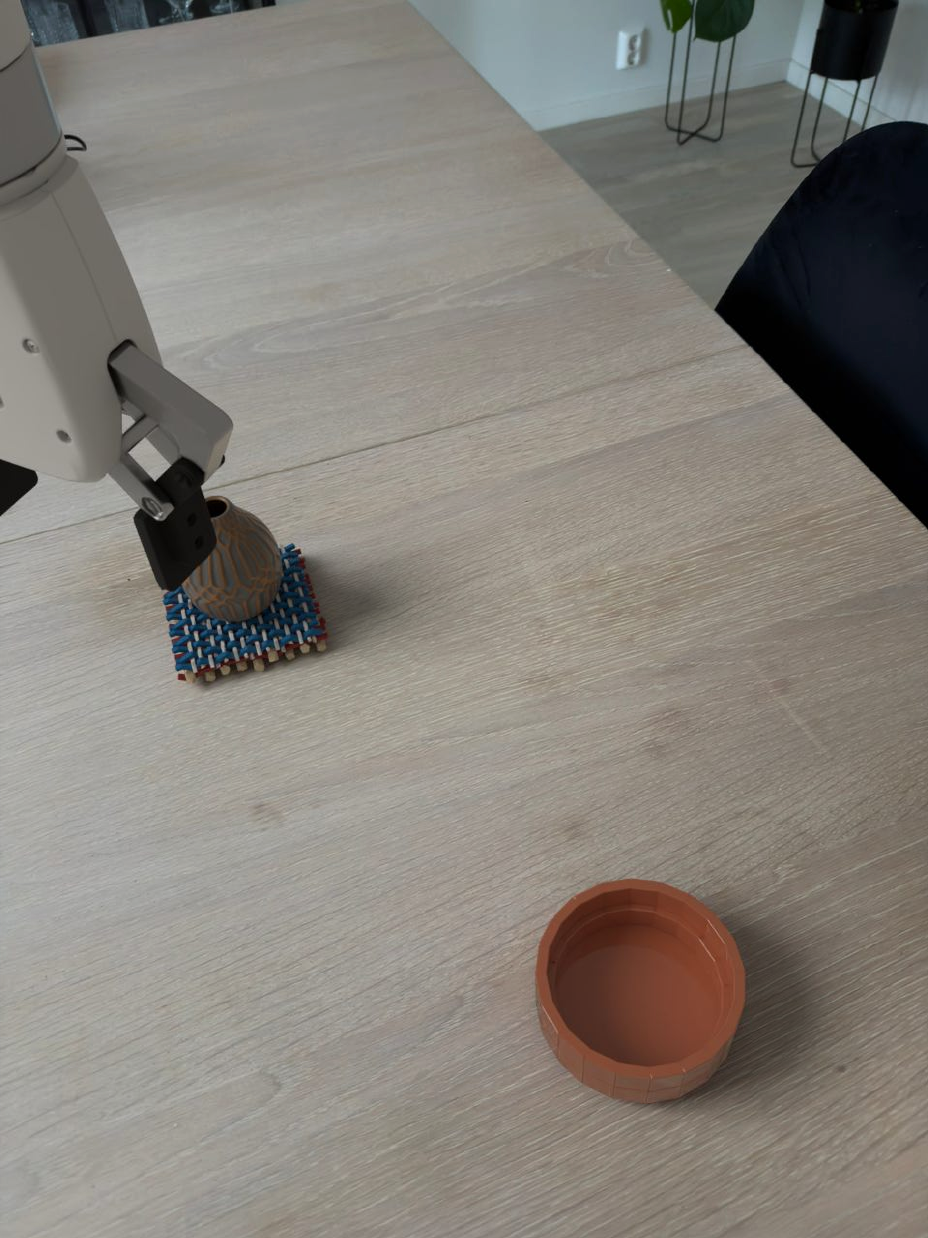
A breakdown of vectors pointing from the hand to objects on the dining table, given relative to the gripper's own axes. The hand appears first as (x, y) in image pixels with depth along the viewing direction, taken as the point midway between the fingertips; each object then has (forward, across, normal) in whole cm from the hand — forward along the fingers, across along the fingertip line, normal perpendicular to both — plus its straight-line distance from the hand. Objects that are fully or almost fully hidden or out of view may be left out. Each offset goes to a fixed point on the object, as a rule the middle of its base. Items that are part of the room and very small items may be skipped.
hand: (96, 533), depth 46 cm
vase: (+24, -10, +16) cm, 31 cm away
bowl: (+26, +25, +2) cm, 36 cm away
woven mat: (+26, -10, +16) cm, 33 cm away
